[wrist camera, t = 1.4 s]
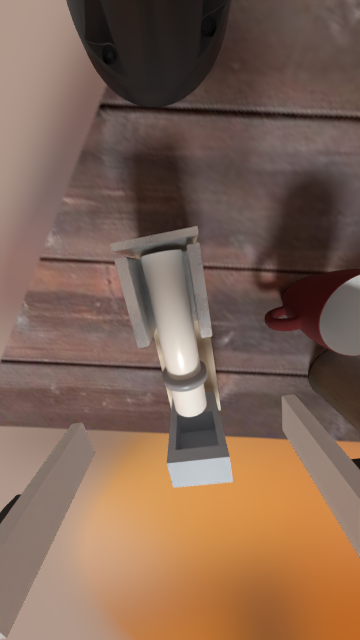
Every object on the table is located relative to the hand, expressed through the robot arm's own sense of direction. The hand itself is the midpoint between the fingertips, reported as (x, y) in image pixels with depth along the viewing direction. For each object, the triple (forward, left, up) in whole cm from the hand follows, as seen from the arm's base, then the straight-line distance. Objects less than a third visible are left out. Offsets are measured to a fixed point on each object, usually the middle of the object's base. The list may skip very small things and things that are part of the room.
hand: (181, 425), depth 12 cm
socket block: (+13, 0, -16) cm, 20 cm away
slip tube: (-2, 0, -12) cm, 12 cm away
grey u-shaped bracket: (-7, 0, -16) cm, 17 cm away
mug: (-2, +16, -17) cm, 23 cm away
